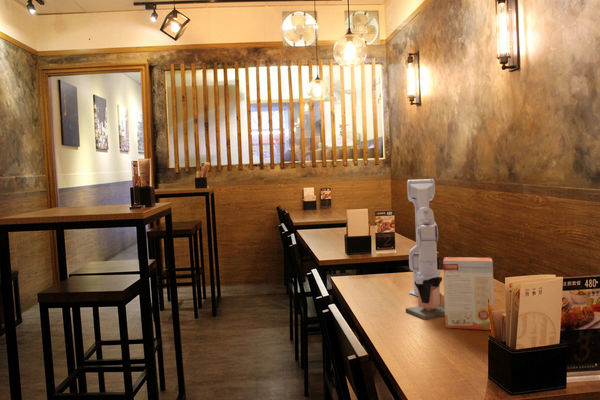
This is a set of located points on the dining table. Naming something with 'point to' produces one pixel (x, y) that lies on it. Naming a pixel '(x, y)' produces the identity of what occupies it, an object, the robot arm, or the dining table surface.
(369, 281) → the dining table surface
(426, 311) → the post board
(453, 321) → the cracker box
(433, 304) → the peach wooden cube
